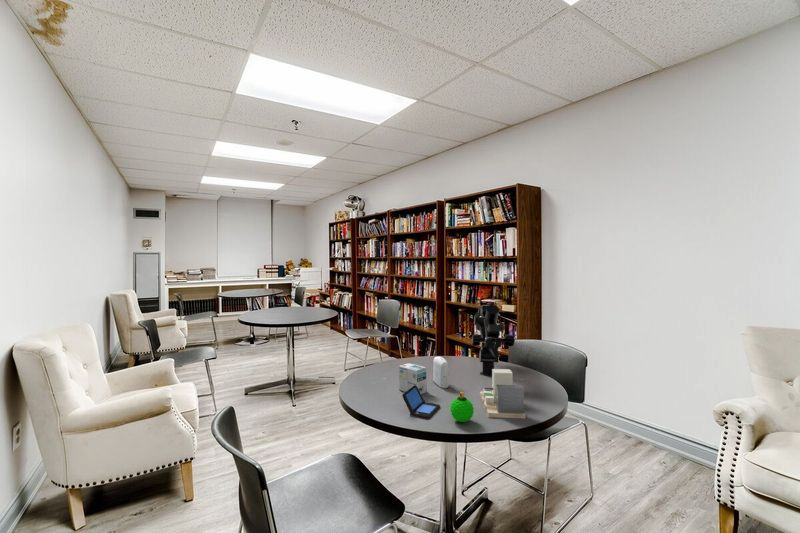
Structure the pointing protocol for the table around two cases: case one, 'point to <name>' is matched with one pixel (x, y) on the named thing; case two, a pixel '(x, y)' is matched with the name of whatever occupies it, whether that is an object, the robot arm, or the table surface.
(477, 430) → the table surface
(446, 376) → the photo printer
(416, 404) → the handheld game console
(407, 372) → the light bulb box
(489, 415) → the base
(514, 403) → the grey square block
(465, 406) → the ornament
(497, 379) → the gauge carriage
